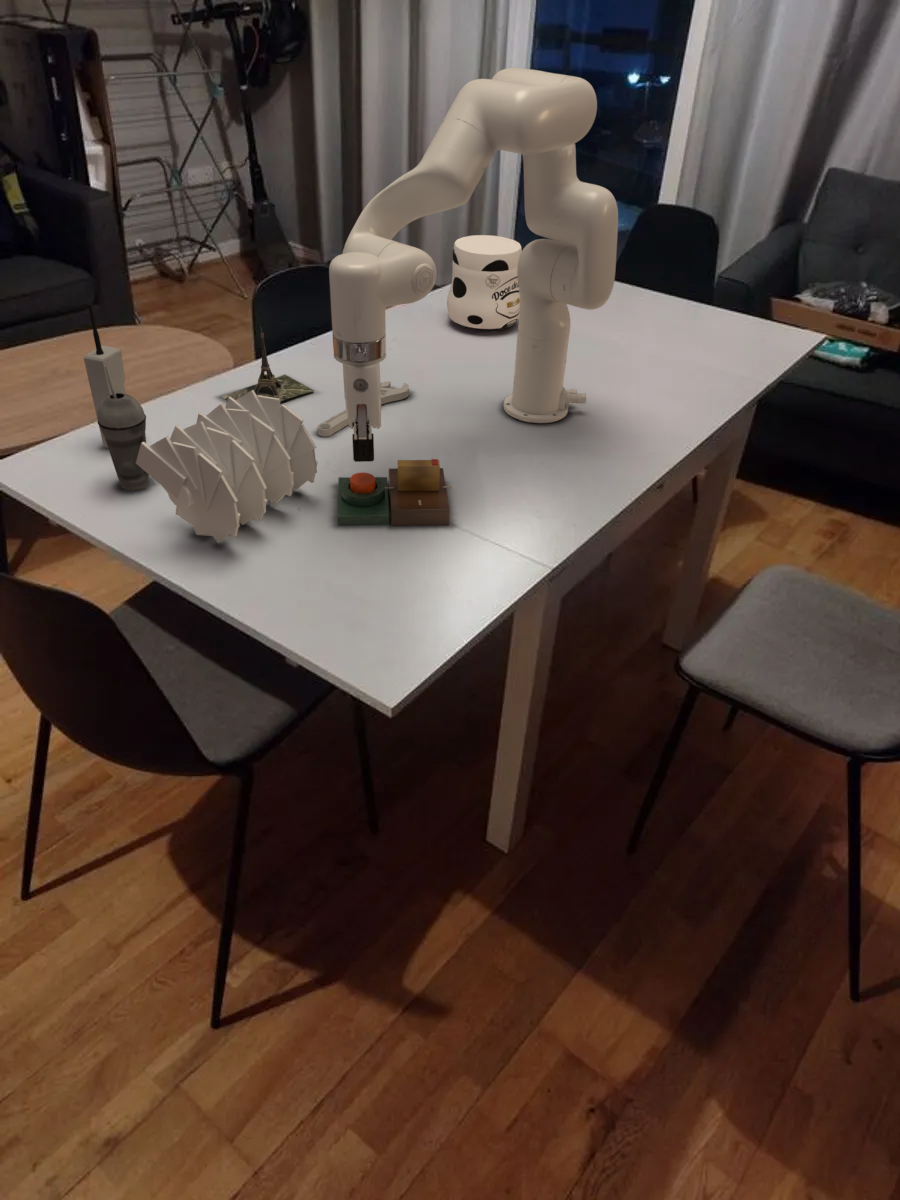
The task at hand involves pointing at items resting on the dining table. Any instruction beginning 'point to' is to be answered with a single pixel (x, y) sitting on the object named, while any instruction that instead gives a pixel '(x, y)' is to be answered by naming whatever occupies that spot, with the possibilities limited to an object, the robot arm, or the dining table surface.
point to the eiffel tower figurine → (272, 383)
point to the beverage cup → (124, 436)
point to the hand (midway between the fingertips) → (363, 458)
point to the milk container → (484, 283)
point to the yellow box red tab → (418, 475)
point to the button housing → (363, 504)
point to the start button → (362, 483)
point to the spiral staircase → (232, 463)
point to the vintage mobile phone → (103, 370)
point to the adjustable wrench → (341, 418)
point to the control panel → (418, 504)
